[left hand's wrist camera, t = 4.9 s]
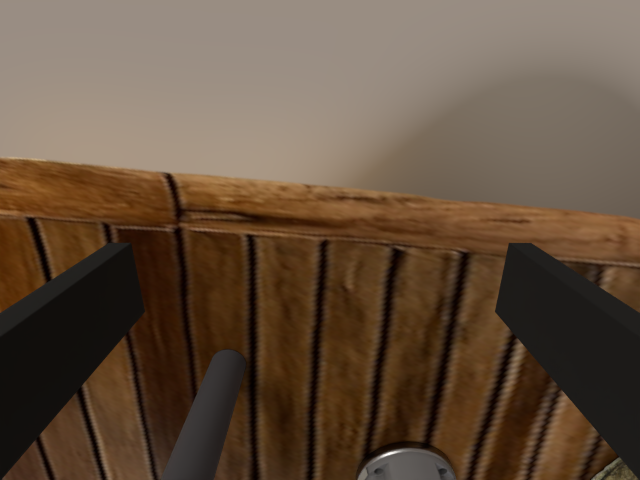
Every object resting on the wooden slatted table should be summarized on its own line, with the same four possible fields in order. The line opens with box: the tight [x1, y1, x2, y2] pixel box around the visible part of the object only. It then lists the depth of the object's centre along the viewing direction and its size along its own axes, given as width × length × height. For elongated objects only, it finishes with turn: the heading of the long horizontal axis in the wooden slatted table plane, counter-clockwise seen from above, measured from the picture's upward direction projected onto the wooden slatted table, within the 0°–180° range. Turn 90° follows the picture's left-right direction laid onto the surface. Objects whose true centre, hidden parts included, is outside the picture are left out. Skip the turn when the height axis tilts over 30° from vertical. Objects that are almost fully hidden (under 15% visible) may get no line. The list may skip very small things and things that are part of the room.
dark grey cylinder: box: [161, 350, 246, 480], centre depth 39 cm, size 5×5×20 cm
